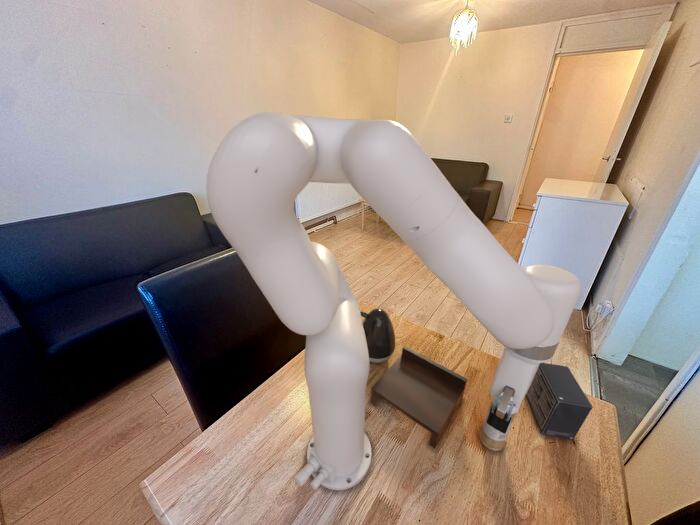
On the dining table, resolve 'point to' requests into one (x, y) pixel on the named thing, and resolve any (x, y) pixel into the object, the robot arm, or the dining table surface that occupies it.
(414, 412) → the shelf
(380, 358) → the pump dispenser
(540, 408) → the small box
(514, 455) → the dining table surface
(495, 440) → the sprinkles bottle
